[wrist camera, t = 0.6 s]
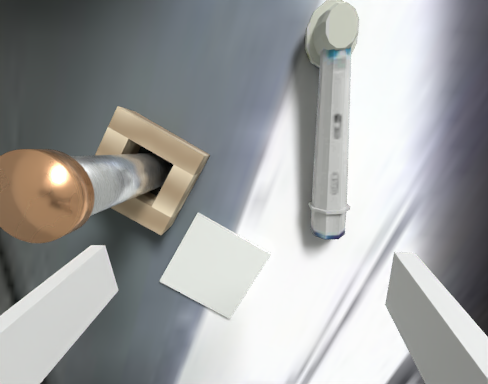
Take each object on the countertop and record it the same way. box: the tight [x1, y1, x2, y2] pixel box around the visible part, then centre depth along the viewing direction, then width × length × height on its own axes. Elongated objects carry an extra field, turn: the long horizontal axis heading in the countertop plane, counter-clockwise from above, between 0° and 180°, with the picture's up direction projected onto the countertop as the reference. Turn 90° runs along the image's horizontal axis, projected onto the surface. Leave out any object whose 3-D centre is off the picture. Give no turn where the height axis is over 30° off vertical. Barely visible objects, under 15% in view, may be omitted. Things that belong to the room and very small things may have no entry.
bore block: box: [95, 106, 210, 235], centre depth 30 cm, size 11×11×4 cm
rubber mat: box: [159, 213, 271, 319], centre depth 33 cm, size 11×11×1 cm
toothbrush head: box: [305, 0, 359, 239], centre depth 28 cm, size 5×7×25 cm
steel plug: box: [0, 149, 171, 243], centre depth 23 cm, size 5×5×18 cm
